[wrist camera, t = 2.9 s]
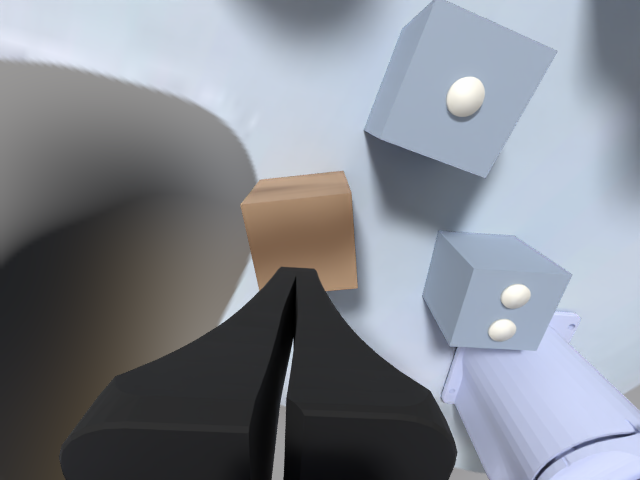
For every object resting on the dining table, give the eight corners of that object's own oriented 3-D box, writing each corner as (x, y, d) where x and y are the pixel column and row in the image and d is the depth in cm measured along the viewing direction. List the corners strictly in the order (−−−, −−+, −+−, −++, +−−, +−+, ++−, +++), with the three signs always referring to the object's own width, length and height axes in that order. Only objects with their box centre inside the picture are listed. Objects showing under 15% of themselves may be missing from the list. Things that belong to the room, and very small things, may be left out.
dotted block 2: (490, 298, 22) (538, 353, 17) (421, 295, 22) (450, 348, 17) (513, 235, 20) (575, 276, 15) (437, 230, 20) (475, 270, 15)
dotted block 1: (442, 159, 18) (487, 179, 13) (363, 129, 17) (380, 139, 12) (491, 62, 16) (565, 43, 11) (403, 24, 15) (442, -12, 10)
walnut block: (348, 246, 20) (357, 288, 15) (274, 253, 20) (260, 297, 16) (343, 170, 18) (351, 193, 13) (260, 179, 18) (240, 204, 14)
